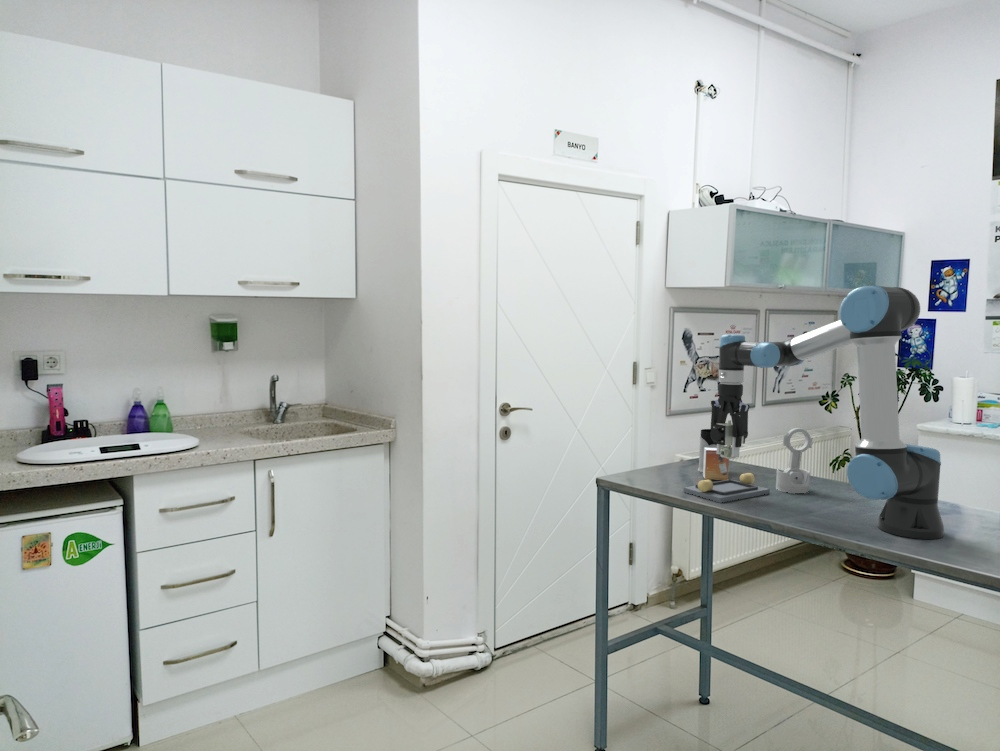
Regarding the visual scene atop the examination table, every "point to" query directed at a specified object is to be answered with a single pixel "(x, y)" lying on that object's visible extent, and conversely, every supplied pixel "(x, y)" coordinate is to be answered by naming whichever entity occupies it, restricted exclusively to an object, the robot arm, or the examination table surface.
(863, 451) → the robot arm
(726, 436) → the pneumatic valve
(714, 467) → the small box
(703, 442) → the glass holder
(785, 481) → the engine component
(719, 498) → the mounting plate
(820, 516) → the examination table surface
